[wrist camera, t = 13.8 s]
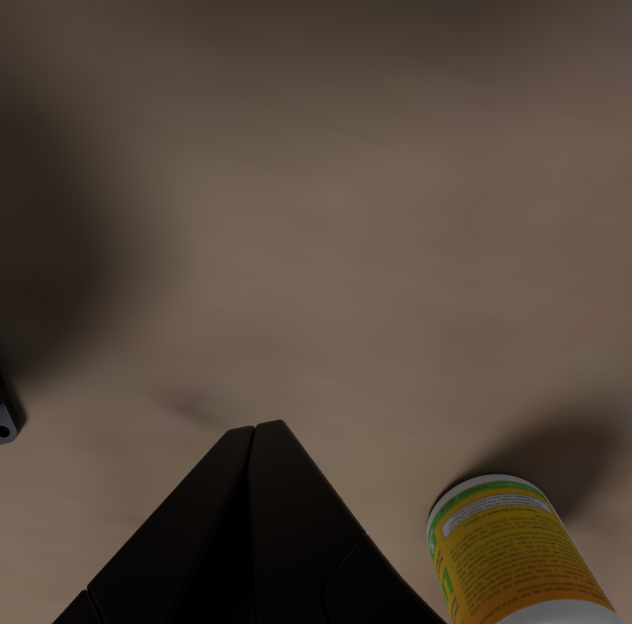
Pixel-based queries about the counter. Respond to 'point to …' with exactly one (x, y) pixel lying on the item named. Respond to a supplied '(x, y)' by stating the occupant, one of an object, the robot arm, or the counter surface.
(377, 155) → the counter surface
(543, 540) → the supplement bottle
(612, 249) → the counter surface
